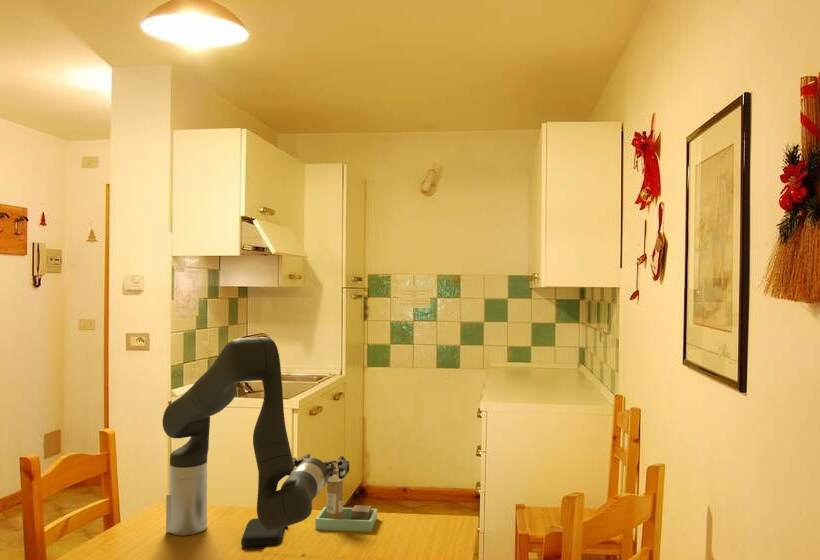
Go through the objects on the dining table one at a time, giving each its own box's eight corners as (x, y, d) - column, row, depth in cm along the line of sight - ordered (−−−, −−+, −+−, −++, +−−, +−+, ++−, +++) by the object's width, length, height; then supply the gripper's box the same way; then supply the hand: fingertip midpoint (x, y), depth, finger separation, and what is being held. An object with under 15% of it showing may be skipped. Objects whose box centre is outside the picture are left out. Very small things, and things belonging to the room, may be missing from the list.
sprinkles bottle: (346, 524, 166) (346, 473, 166) (330, 528, 164) (330, 476, 164) (338, 519, 170) (338, 468, 170) (323, 522, 167) (323, 471, 168)
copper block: (351, 526, 165) (351, 511, 165) (354, 520, 169) (354, 505, 169) (368, 527, 164) (368, 511, 164) (371, 520, 169) (371, 505, 169)
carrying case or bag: (284, 549, 153) (289, 526, 167) (285, 536, 153) (289, 515, 167) (239, 551, 151) (247, 528, 166) (239, 538, 151) (247, 516, 166)
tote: (315, 531, 163) (315, 519, 163) (324, 518, 172) (324, 506, 172) (371, 534, 161) (371, 521, 161) (377, 520, 170) (377, 508, 170)
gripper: (339, 465, 139) (353, 445, 156) (276, 461, 141) (297, 442, 157) (338, 499, 140) (353, 475, 156) (276, 494, 141) (297, 472, 157)
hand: (325, 458), depth 156 cm, fingers open, 8 cm apart
